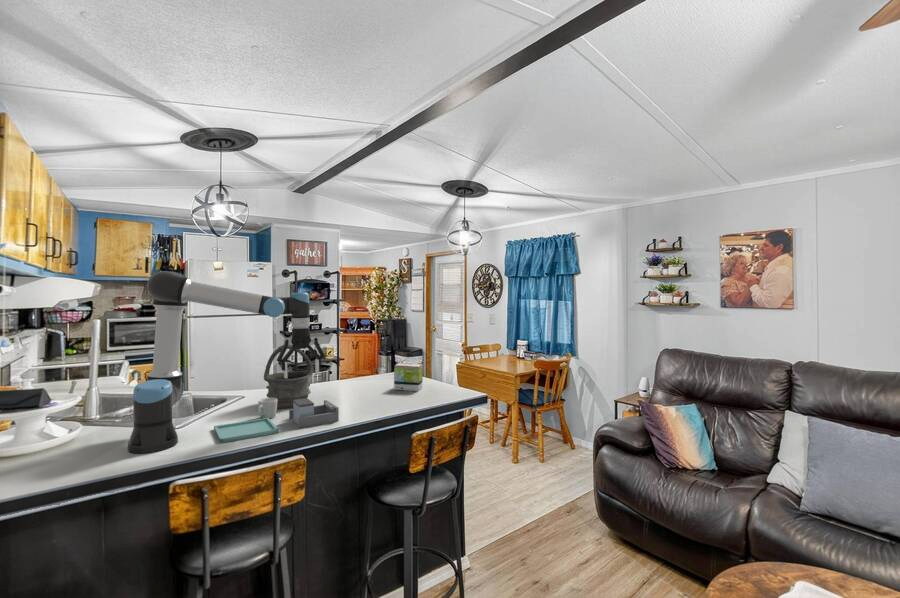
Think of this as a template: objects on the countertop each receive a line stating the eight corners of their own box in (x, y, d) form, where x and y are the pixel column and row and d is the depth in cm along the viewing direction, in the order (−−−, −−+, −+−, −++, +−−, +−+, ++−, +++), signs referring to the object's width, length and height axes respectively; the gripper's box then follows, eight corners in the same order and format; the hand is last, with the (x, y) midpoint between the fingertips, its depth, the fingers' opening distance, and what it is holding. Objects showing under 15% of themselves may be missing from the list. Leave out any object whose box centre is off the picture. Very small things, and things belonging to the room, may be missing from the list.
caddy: (299, 426, 181) (299, 405, 181) (293, 420, 189) (293, 400, 189) (313, 423, 184) (313, 403, 184) (306, 417, 193) (306, 398, 192)
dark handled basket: (273, 398, 227) (273, 342, 227) (317, 398, 228) (317, 342, 228) (256, 409, 205) (256, 347, 205) (305, 409, 206) (305, 347, 206)
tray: (220, 443, 160) (220, 439, 160) (214, 429, 175) (214, 426, 175) (278, 432, 172) (278, 429, 172) (268, 421, 187) (268, 417, 187)
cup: (266, 422, 185) (266, 404, 185) (250, 421, 187) (250, 403, 187) (281, 415, 196) (281, 398, 196) (265, 414, 197) (265, 397, 197)
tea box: (393, 390, 247) (393, 365, 246) (398, 386, 256) (398, 362, 256) (418, 391, 244) (419, 365, 244) (422, 387, 254) (423, 363, 254)
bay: (299, 428, 178) (299, 413, 178) (289, 418, 191) (289, 405, 191) (338, 421, 188) (338, 407, 188) (326, 412, 201) (326, 400, 200)
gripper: (272, 330, 176) (273, 381, 176) (331, 326, 190) (332, 373, 191) (268, 328, 182) (269, 378, 182) (325, 325, 196) (326, 371, 197)
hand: (301, 375), depth 187 cm, fingers open, 13 cm apart
